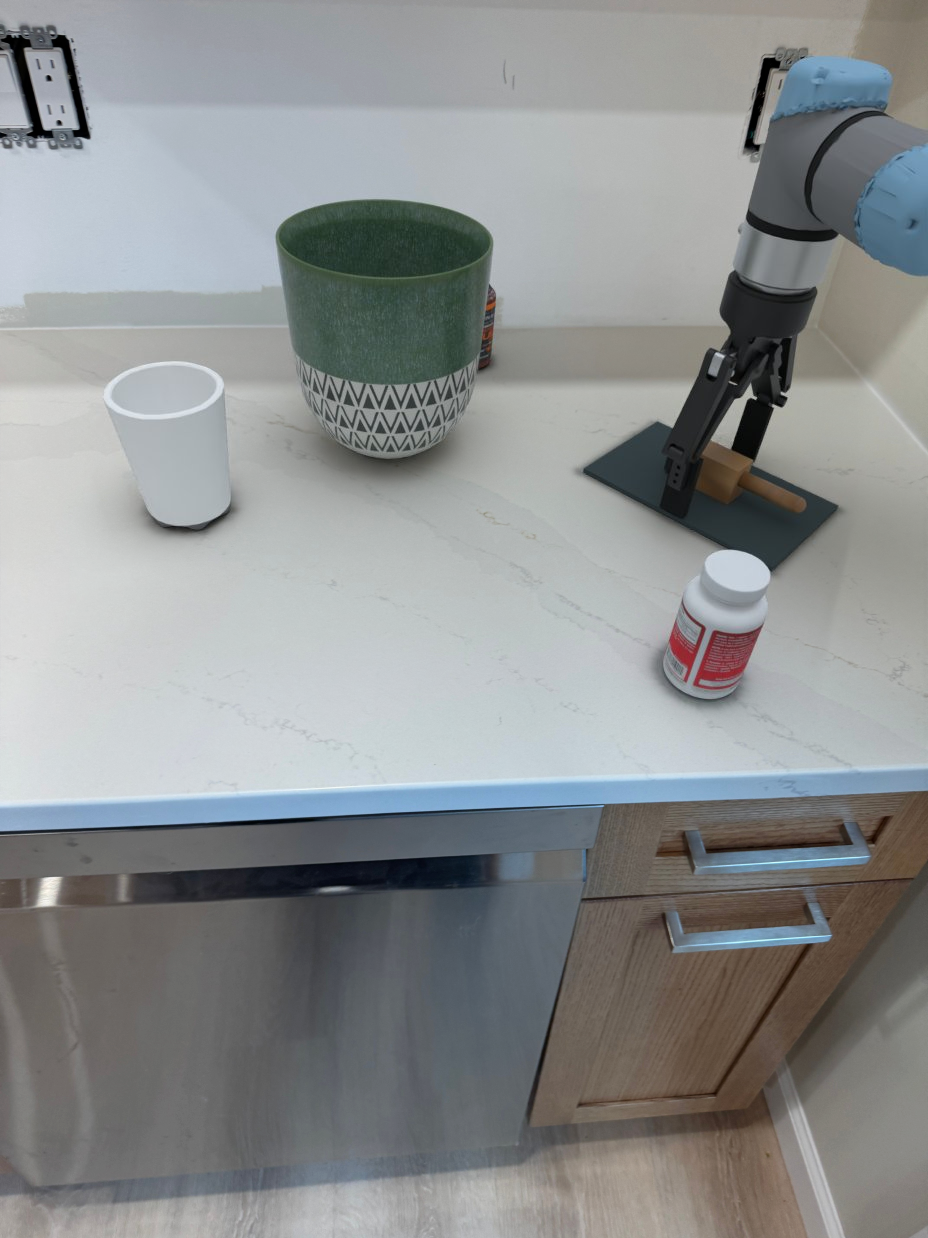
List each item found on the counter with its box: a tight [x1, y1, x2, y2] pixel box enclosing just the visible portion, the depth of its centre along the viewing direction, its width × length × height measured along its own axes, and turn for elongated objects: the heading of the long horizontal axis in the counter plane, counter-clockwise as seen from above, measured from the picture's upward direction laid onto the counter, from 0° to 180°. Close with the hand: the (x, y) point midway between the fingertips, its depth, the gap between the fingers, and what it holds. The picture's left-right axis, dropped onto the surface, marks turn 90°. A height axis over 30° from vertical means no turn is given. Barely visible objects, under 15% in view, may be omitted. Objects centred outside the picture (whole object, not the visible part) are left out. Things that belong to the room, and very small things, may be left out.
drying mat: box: [582, 420, 839, 572], centre depth 85 cm, size 22×14×1 cm, turn 47°
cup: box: [102, 360, 232, 531], centre depth 74 cm, size 10×10×13 cm
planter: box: [274, 198, 494, 460], centre depth 81 cm, size 20×20×21 cm
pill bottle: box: [662, 549, 772, 700], centre depth 63 cm, size 6×6×11 cm
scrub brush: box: [664, 439, 806, 513], centre depth 82 cm, size 15×3×4 cm, turn 47°
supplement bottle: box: [478, 280, 497, 370], centre depth 99 cm, size 6×6×11 cm
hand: (708, 483), depth 85 cm, fingers open, 13 cm apart
